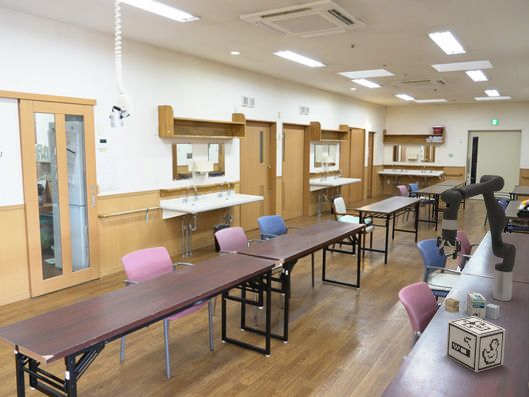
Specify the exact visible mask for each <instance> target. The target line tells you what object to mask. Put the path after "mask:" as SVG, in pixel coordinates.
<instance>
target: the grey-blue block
mask: <svg viewBox="0 0 529 397" xmlns="http://www.w3.org/2000/svg"><path fill="white" fill-rule="evenodd" d="M500 308H501V307H500V305H496V304H492V303H488V304H486V311H485V318H488V319H492V320H496V319H498V318H499V317H500Z"/></svg>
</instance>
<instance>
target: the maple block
mask: <svg viewBox="0 0 529 397" xmlns="http://www.w3.org/2000/svg"><path fill="white" fill-rule="evenodd" d="M444 310H445V311H448V312H449V313H452V314H453V313H458V312H460V300H458V299H456V298H454V297H450V298H445V299H444Z"/></svg>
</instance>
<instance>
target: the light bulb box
mask: <svg viewBox="0 0 529 397" xmlns="http://www.w3.org/2000/svg"><path fill="white" fill-rule="evenodd" d="M466 296H467V298H466V300H467V301H466V302H467V303H466V312H467V313H468V315H469V317H472V316H475V317H477V318H480V319H482V320H486V317H485V311H486V305H487V299H486V298H485V297H484V296H483V295H482V294H481V293H480V292H471V291H467V295H466Z"/></svg>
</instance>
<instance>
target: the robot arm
mask: <svg viewBox="0 0 529 397" xmlns="http://www.w3.org/2000/svg"><path fill="white" fill-rule="evenodd" d="M504 187H505V179H504V178H503V177H502V176H501V175H496V174H495V175H494V174H484V175H482V176H481V177H480V179H479V182H477V183H476V182H475V183H469V184H466V185H462V186H460V187H455V188H449V189H445V190H443V191H442V192H441V194H440V200H441V202H443V203H445V204H449V207H445V208H444V209H443V212H442V221H441V222H442V223H441V235H439V236H437V237H436V247H437V248H439V252H438V253H439V256H441V257H443V256H444V255H445V253H444V252H445V247H448V248H450V249H451V250H452V260H457V259H458V253H460V252H462V240H457V239H456V238H457V237H458V212H459V209H460V206H461V204H462V201H463V200H467V199H470V198H473V197H477V196H480V195H482V198H483V201H484V202H483V203H484V205H485V210H486V214H487V217H486V218H487V221H488V225H489V230H490V231H489V232H490V238H491V249H492V250H491V251H492V254H493V255H494V256H495V257H496V258H500V259H502V262H500V263H499V262H498V263H495V264H494V272H493V273H494V274H493V286H492V287H493V288H492V298H493V299H494V300H497V301H502V302H509V301H511V300H512V298H513V297H512V296H513V274H514V272H513V270H514V268H515V267H514V266H515V262H516V255H517V249H516V246H515V245H514V244H512V243H508V242H504V241H503V236H502V234H503V232H504V229H505V228H506V226H507V223H508V221H507V220H508V219H507V215H506V210H505V208H504V207H503V206H502V204H501V203H500V202H499V200H498V199H497V198H496V196H495V194H494V193H497V192H501V191H502V190H503V189H504Z"/></svg>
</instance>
